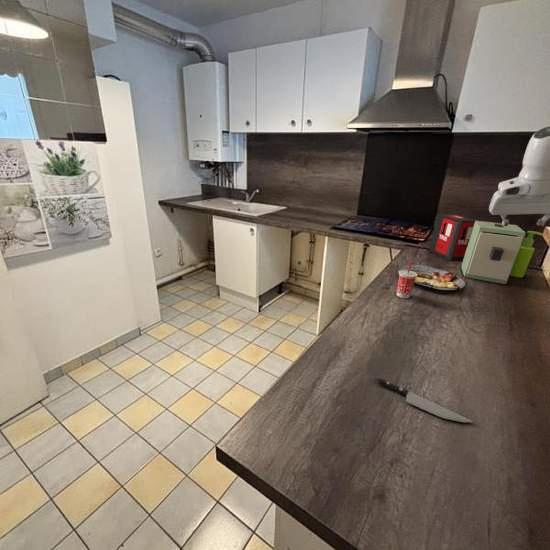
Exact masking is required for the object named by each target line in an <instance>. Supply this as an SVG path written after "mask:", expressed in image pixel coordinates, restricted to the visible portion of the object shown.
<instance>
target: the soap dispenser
mask: <svg viewBox="0 0 550 550" xmlns="http://www.w3.org/2000/svg"><path fill="white" fill-rule="evenodd" d="M526 233H527V234H528V235H527V237H524V239H523V241H522V244H521V246H520V249H519V252H518V254H517V257H516V259H515V262H514V264H513V267H512V270H511V272H510V275H509V276H510V277H514V278H520V279H521V278H524V277H525V274H526V273H527V272H526V271H527V269H528V267H529V265H530V262H531V259H532V257H533V255H534V252H535V247H533V244H534V242H535V239H534V235H539V236H545V233H542V232H539V231H535V230H534V231H533V230H528V231H527V232H526Z"/></svg>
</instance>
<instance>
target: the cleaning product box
mask: <svg viewBox="0 0 550 550" xmlns="http://www.w3.org/2000/svg"><path fill="white" fill-rule="evenodd" d="M475 221H478V220H476V219H473V218H471V217H470V218H469V217H466V216H463V215H459V214H456V213H438V214H437V217H436V220H435V224H434V228H433V232H432V236H431V239H430V242H429V243H430V244H429V247H428V251H429V252H432V253H434V254H435V255H438V256H440V257H442V258H444V259H446V260H448V261H451V262H454V261H463V259H464V256H465V253H466V250H467V247H468V243H469V240H470V237H471V234H472V230H473V227H474V224H475Z"/></svg>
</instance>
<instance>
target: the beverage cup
mask: <svg viewBox="0 0 550 550" xmlns="http://www.w3.org/2000/svg"><path fill="white" fill-rule="evenodd" d="M412 262H413V260H412V259H410V261H409V269H408V270H400V271H399V273H398V281H397V289H396V296H397V297H399V298H401V299H409V298H411V294H412V291H413V288H414V285H415V283H414V282H415V279H416V278H417V273H415V272H413V271H410V267H411V265H412Z"/></svg>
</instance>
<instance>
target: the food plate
mask: <svg viewBox="0 0 550 550" xmlns="http://www.w3.org/2000/svg"><path fill="white" fill-rule="evenodd" d="M409 265H410V264H409ZM409 265H408V264H407V265H403V266H400V268H399V269H398V270H397V272H398V274H399V271H400V270H408V269H409ZM410 271H413V272H415V273H417V278H416V279H415V282H414V284H417V285H421V286H424V287H428V288H433V289H436V290H440V291H448V292H449V291H450V292H451V291H459V290H463V289H464V288H465V287H466V286H467V283H466V281H465V280H464V279H463V278H462V277H461V276H459V275H457V274H456V273H453V272H451V271H447V270H444V269H440V268H435V267H433V266H432V267H431V266H426V265H416V264H413V265H412V264H411V267H410Z"/></svg>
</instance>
